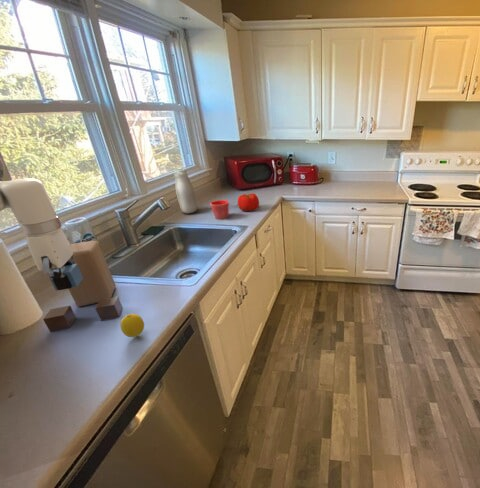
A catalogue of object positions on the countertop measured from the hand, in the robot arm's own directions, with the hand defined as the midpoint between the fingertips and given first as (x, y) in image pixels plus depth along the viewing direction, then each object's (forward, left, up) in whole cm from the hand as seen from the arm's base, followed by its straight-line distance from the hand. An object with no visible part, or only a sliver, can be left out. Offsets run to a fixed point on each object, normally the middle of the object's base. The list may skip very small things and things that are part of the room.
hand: (69, 282), depth 82 cm
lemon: (+15, -13, -15) cm, 25 cm away
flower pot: (+45, +85, -15) cm, 98 cm away
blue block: (0, 0, 0) cm, 0 cm away
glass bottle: (+26, +102, -15) cm, 107 cm away
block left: (-7, +2, -15) cm, 17 cm away
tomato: (+63, +93, -15) cm, 114 cm away
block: (-2, +15, -15) cm, 22 cm away
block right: (+6, +2, -15) cm, 16 cm away
